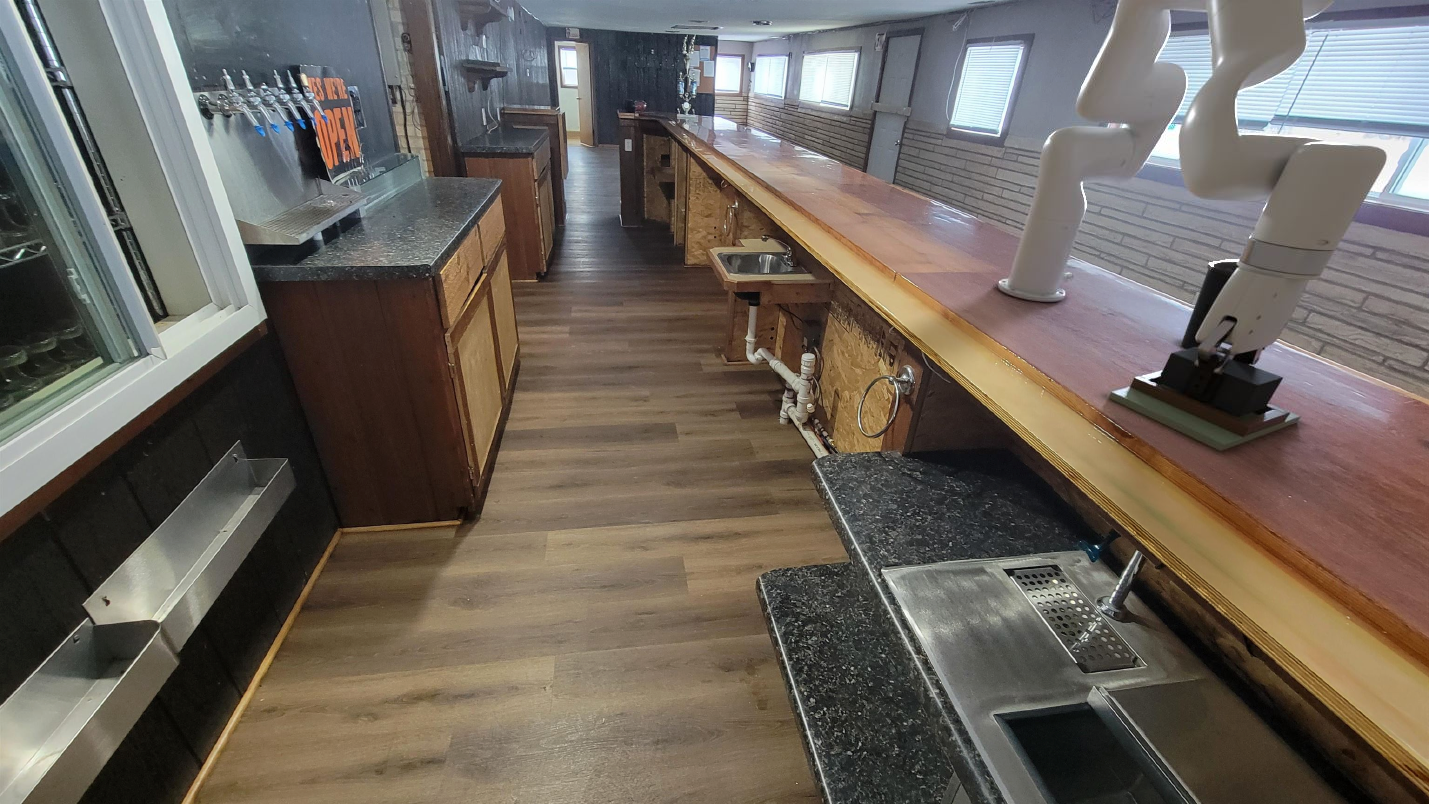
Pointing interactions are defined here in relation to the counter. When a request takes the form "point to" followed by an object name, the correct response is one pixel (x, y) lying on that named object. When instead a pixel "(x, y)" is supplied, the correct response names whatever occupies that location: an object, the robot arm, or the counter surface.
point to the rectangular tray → (1199, 414)
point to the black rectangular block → (1225, 383)
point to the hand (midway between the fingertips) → (1210, 391)
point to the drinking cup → (1208, 297)
